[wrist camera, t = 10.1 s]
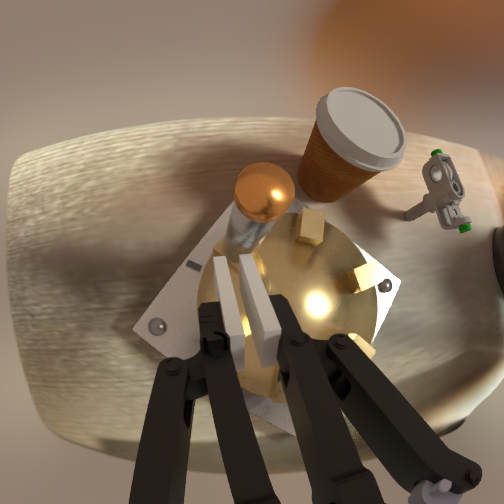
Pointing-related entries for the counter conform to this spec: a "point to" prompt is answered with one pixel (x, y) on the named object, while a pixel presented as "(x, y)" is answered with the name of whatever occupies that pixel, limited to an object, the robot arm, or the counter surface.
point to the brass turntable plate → (293, 269)
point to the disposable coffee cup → (349, 144)
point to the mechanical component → (442, 194)
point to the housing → (186, 322)
